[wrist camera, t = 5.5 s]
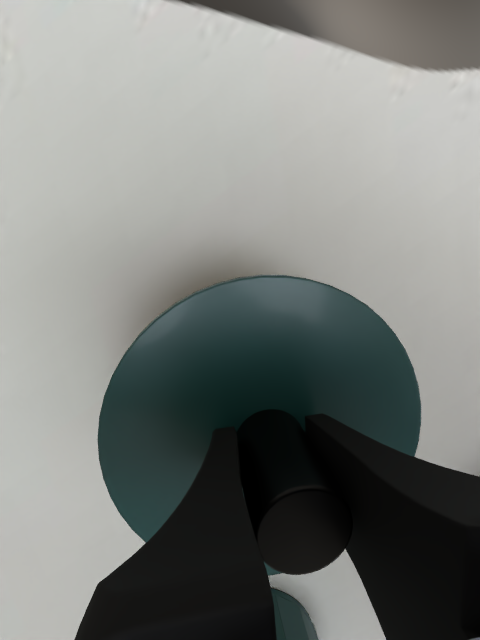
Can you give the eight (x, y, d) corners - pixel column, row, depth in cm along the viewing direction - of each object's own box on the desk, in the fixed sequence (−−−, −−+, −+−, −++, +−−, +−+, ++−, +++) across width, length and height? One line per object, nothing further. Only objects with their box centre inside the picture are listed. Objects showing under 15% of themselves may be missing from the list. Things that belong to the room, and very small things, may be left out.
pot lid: (459, 379, 14) (608, 454, 9) (292, 592, 15) (342, 765, 10) (223, 204, 11) (247, 172, 6) (43, 475, 12) (-56, 627, 7)
